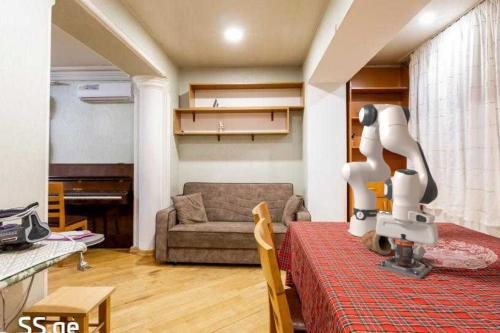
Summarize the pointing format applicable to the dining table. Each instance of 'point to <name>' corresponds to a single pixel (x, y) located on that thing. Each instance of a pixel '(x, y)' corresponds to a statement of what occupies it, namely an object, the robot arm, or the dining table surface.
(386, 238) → the clay pipe
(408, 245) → the supplement bottle
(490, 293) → the dining table surface
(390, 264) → the flange seat
